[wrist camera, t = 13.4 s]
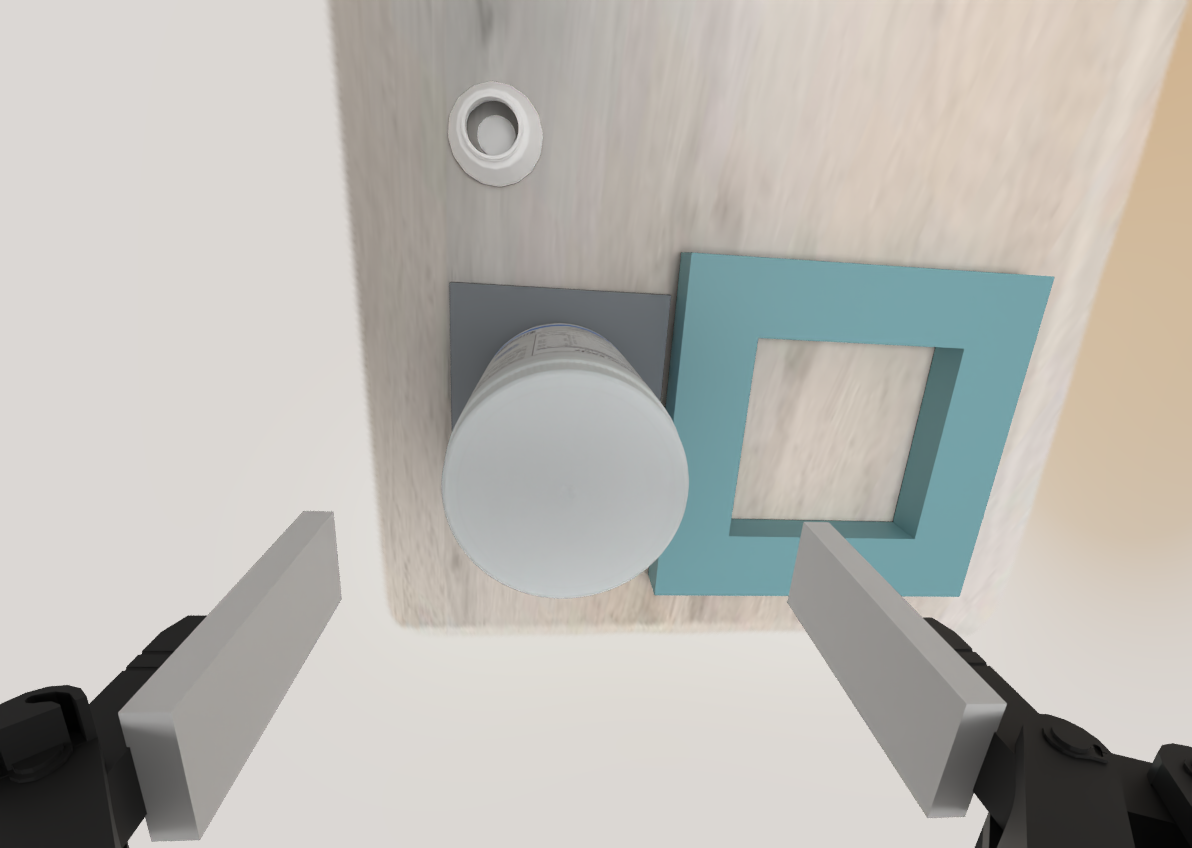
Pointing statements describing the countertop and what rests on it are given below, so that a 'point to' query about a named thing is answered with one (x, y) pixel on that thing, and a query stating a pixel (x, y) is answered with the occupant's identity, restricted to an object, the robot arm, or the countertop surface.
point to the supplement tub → (563, 467)
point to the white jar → (496, 136)
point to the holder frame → (854, 315)
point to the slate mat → (506, 311)
